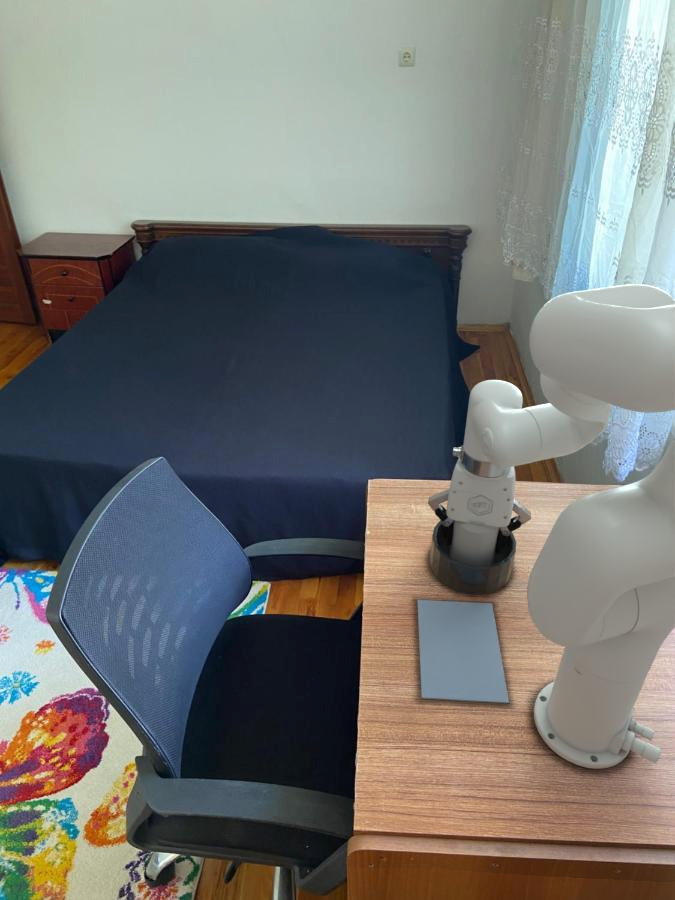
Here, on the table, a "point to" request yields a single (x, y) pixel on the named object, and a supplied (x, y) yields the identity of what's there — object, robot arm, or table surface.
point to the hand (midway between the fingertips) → (473, 543)
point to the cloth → (460, 652)
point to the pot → (470, 566)
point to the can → (473, 543)
